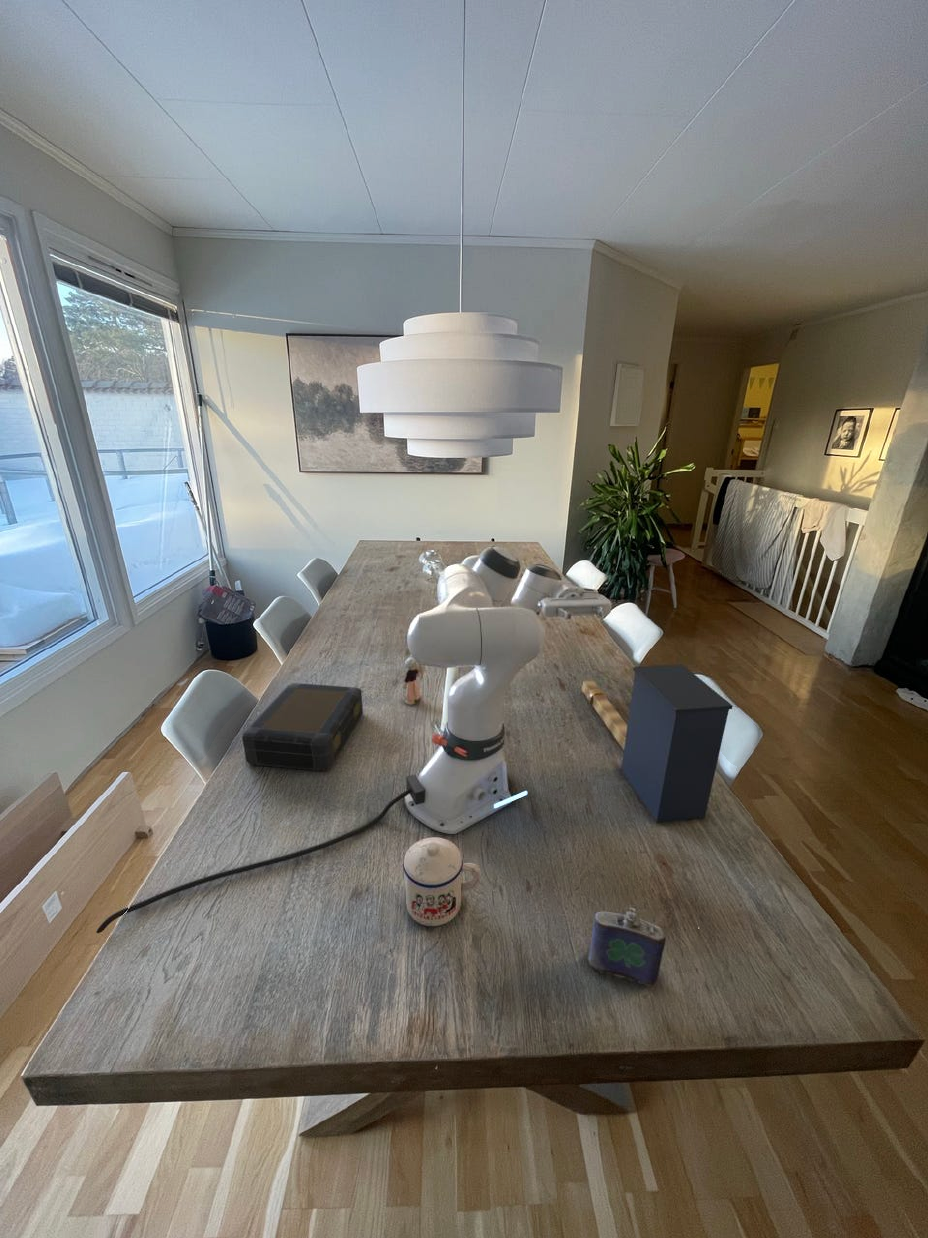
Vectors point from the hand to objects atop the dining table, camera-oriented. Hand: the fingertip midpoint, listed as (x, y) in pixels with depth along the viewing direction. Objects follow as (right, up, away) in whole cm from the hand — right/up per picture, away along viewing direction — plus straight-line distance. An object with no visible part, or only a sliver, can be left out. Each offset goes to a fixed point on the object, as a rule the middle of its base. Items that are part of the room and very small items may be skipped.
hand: (584, 616), depth 144 cm
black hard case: (-71, -29, -20) cm, 80 cm away
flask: (-12, -50, -72) cm, 88 cm away
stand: (+7, -37, -38) cm, 53 cm away
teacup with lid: (-37, -46, -62) cm, 86 cm away
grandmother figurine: (-48, -23, -3) cm, 53 cm away
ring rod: (+3, -26, -13) cm, 29 cm away
